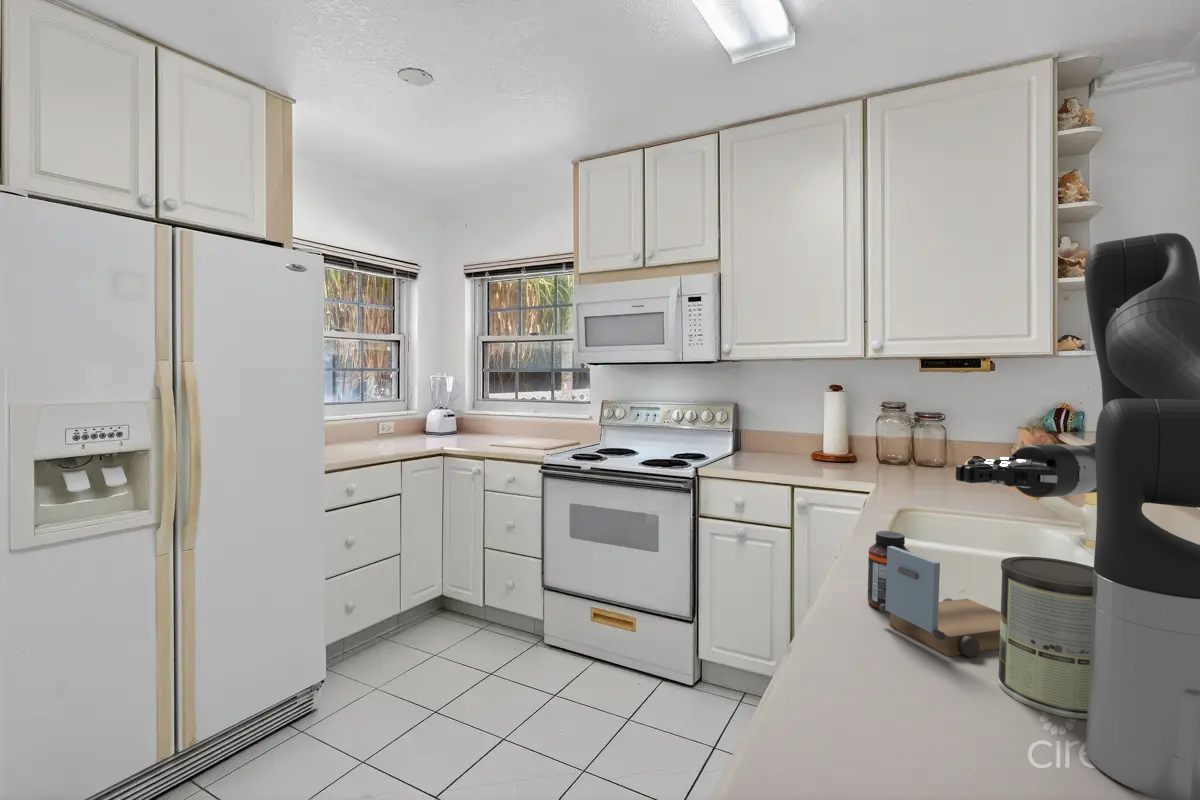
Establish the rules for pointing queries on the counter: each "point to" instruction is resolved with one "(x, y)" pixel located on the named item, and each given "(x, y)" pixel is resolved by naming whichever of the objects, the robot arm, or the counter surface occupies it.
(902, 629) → the flatbed
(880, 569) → the supplement bottle
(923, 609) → the panel
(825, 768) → the counter surface
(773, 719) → the counter surface
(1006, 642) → the coffee can
